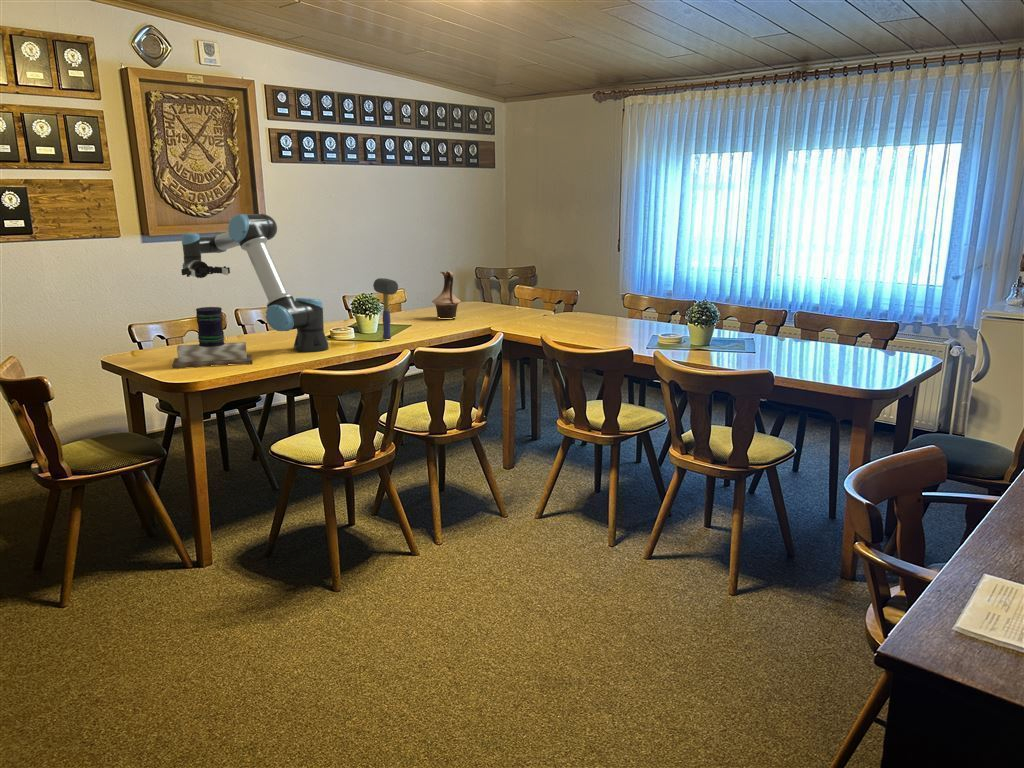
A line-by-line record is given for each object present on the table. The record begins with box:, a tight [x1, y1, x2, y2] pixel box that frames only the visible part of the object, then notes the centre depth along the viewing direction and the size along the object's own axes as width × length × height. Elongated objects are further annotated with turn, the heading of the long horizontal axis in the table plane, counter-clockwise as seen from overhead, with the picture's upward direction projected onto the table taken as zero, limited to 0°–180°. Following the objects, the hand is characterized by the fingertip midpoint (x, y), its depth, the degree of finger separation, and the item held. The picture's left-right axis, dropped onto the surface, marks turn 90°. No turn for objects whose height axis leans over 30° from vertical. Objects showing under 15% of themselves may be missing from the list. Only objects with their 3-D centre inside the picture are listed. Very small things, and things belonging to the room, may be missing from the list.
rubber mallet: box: [372, 277, 399, 340], centre depth 352 cm, size 12×8×30 cm, turn 42°
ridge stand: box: [171, 341, 253, 369], centre depth 299 cm, size 30×14×8 cm, turn 111°
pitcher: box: [431, 270, 462, 318], centre depth 421 cm, size 18×17×28 cm
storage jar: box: [195, 306, 225, 347], centre depth 297 cm, size 10×10×15 cm
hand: (210, 272), depth 315 cm, fingers open, 13 cm apart
